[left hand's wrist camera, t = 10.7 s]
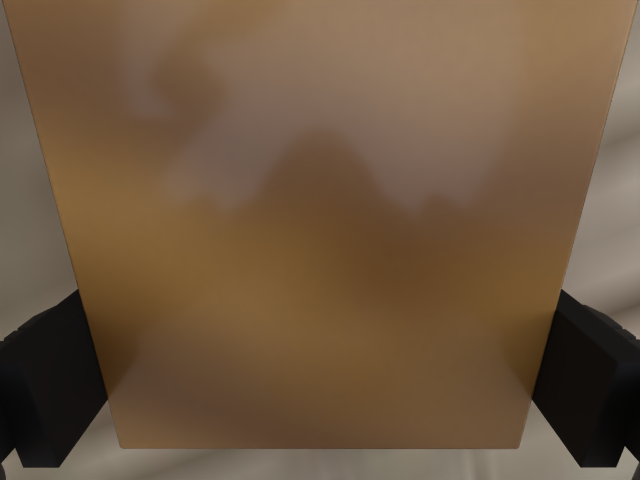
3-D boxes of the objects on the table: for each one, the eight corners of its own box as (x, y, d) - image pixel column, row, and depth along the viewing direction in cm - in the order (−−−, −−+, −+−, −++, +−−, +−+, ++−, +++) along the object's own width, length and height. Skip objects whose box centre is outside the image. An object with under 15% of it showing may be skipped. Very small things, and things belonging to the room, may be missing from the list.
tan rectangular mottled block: (181, -106, 14) (-174, -643, 4) (458, -105, 14) (815, -641, 4) (221, 273, 20) (119, 450, 10) (418, 274, 20) (520, 451, 10)
